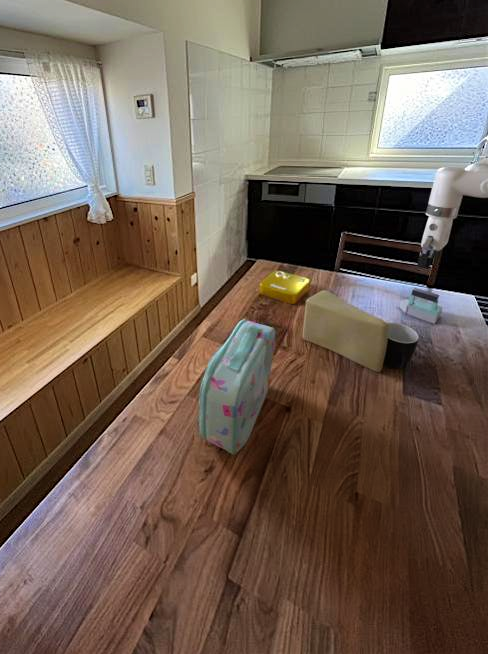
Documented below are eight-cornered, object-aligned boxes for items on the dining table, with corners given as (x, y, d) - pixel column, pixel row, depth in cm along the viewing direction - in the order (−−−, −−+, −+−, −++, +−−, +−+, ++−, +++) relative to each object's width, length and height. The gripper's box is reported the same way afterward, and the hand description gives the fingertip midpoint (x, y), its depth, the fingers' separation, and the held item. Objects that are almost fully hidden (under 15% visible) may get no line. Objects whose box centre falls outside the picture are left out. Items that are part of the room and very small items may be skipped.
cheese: (389, 364, 93) (400, 319, 87) (370, 380, 88) (381, 334, 82) (319, 327, 110) (324, 287, 104) (300, 339, 105) (304, 298, 99)
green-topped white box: (439, 316, 111) (446, 294, 108) (434, 323, 108) (441, 301, 104) (402, 303, 119) (407, 282, 116) (396, 310, 116) (401, 288, 112)
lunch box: (238, 368, 95) (238, 303, 86) (274, 379, 90) (279, 313, 81) (195, 447, 74) (190, 373, 65) (239, 467, 69) (240, 390, 60)
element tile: (257, 293, 131) (257, 282, 129) (275, 278, 141) (275, 268, 139) (294, 305, 122) (295, 294, 120) (310, 288, 132) (311, 277, 130)
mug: (370, 349, 99) (376, 320, 95) (404, 352, 97) (411, 323, 93) (381, 379, 88) (388, 348, 84) (419, 383, 86) (429, 352, 82)
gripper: (448, 220, 92) (433, 275, 99) (465, 206, 102) (450, 257, 109) (417, 215, 97) (404, 268, 104) (436, 202, 107) (423, 251, 114)
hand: (427, 262), depth 106 cm, fingers open, 9 cm apart
